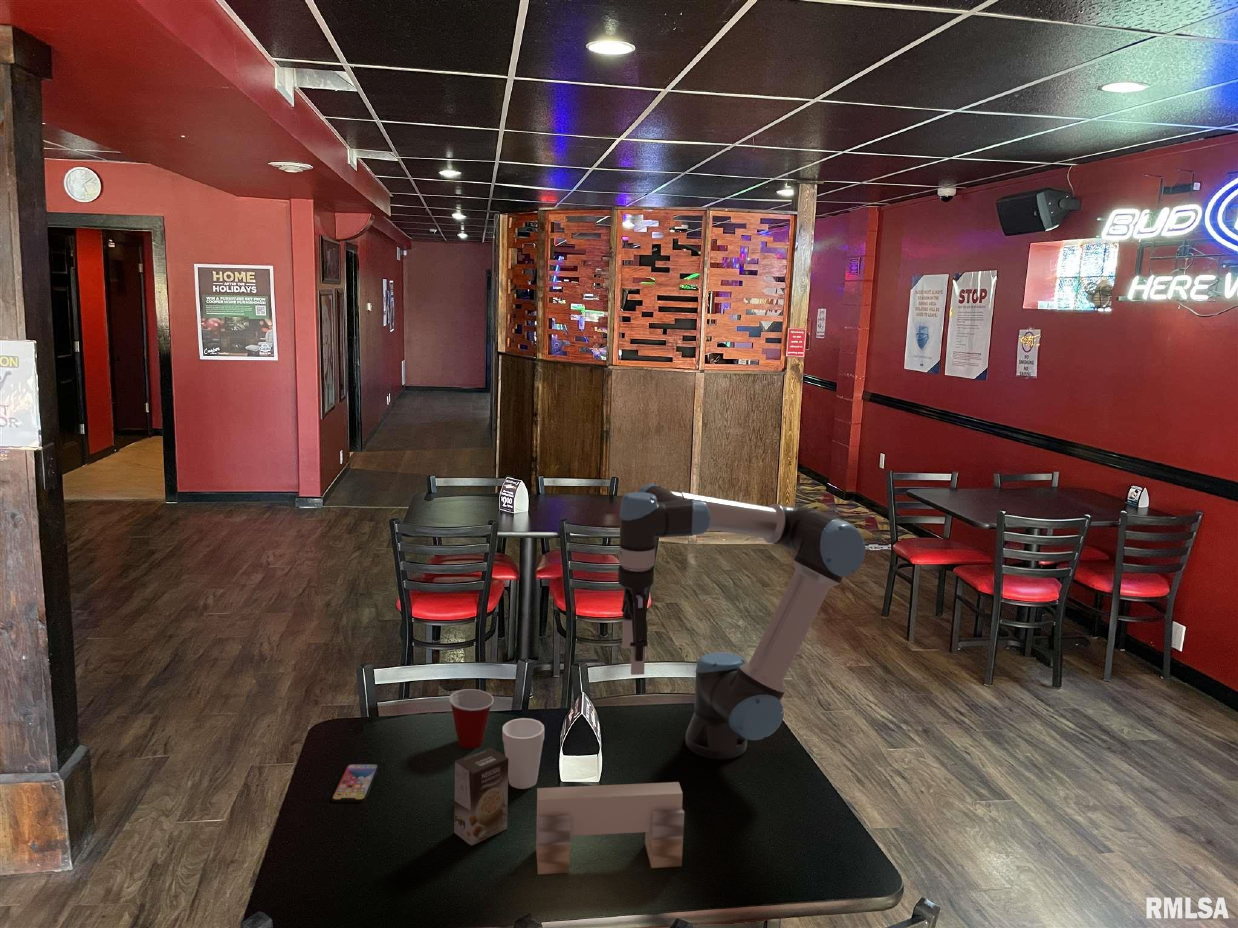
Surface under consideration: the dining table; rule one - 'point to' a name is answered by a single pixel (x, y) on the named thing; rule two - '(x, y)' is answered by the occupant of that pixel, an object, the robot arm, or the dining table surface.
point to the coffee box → (481, 795)
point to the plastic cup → (470, 715)
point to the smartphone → (355, 783)
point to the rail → (609, 806)
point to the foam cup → (523, 751)
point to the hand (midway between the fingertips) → (632, 660)
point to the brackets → (659, 843)
